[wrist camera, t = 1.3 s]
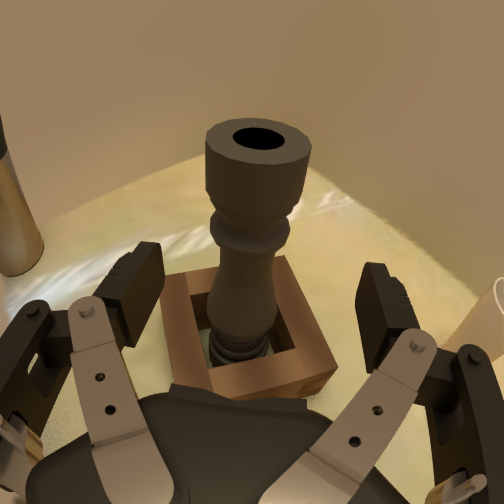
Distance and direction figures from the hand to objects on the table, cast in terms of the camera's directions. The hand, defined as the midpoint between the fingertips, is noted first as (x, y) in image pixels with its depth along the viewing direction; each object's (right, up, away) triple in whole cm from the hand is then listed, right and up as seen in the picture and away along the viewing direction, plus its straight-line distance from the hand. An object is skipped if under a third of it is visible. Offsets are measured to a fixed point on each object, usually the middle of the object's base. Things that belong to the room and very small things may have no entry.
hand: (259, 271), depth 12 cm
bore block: (-2, -11, +22) cm, 24 cm away
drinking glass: (+24, -15, +21) cm, 35 cm away
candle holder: (-2, -11, +22) cm, 25 cm away
